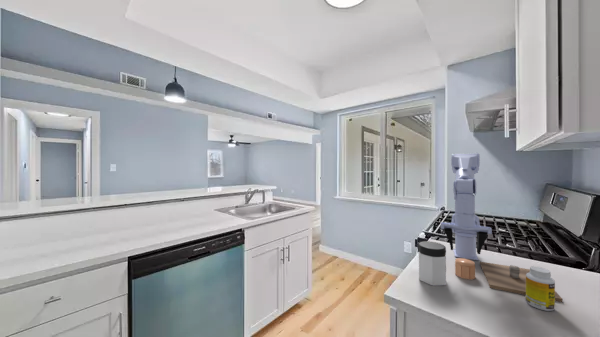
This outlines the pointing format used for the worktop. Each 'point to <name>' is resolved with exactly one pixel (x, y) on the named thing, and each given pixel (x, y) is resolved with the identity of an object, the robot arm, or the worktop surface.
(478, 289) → the worktop surface
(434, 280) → the jar
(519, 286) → the post board
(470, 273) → the brown rounded block
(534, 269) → the supplement bottle
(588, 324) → the worktop surface
